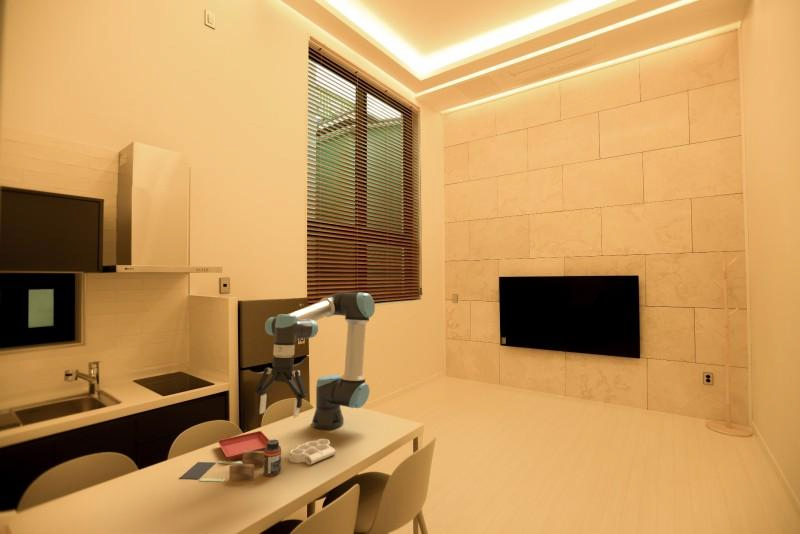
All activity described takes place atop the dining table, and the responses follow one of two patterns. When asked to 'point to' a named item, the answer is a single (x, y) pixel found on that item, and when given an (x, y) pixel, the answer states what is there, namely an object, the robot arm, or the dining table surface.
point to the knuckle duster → (312, 451)
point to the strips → (220, 479)
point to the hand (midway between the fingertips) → (279, 414)
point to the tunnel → (247, 466)
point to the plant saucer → (243, 444)
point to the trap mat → (197, 470)
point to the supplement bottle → (272, 458)
